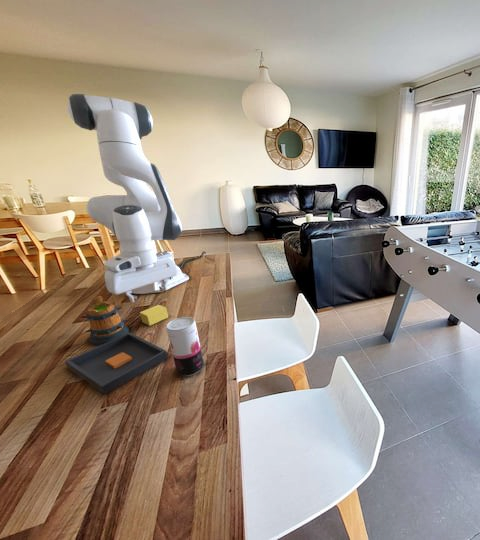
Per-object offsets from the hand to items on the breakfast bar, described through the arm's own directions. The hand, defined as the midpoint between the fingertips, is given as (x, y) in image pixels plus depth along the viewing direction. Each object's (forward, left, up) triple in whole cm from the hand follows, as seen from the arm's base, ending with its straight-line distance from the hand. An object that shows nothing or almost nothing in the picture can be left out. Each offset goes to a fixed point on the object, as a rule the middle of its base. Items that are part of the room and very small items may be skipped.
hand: (149, 295), depth 97 cm
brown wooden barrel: (+12, -5, -10) cm, 16 cm away
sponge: (0, -1, -10) cm, 10 cm away
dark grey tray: (+18, +13, -10) cm, 24 cm away
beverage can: (+10, +32, -10) cm, 35 cm away
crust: (+18, +13, -9) cm, 24 cm away
